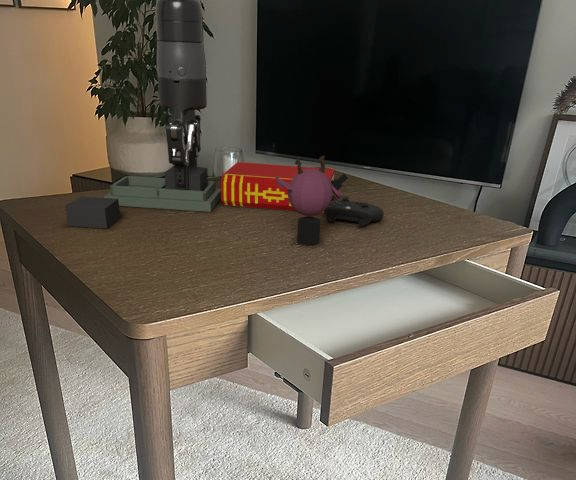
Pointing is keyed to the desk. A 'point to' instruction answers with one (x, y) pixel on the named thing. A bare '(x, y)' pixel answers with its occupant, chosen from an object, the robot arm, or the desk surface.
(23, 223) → the desk surface
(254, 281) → the desk surface
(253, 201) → the book
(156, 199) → the divided tray
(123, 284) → the desk surface
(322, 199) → the figurine
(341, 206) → the game controller
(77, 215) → the pad
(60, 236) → the desk surface
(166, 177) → the pad
